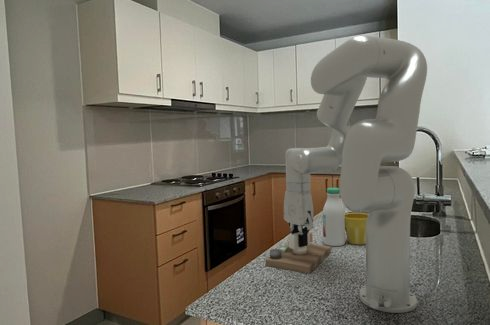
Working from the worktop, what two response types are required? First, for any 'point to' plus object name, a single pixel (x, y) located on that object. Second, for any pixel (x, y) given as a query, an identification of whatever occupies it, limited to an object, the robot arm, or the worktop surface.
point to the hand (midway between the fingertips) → (299, 244)
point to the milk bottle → (333, 219)
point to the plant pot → (356, 227)
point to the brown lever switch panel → (298, 258)
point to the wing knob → (295, 245)
